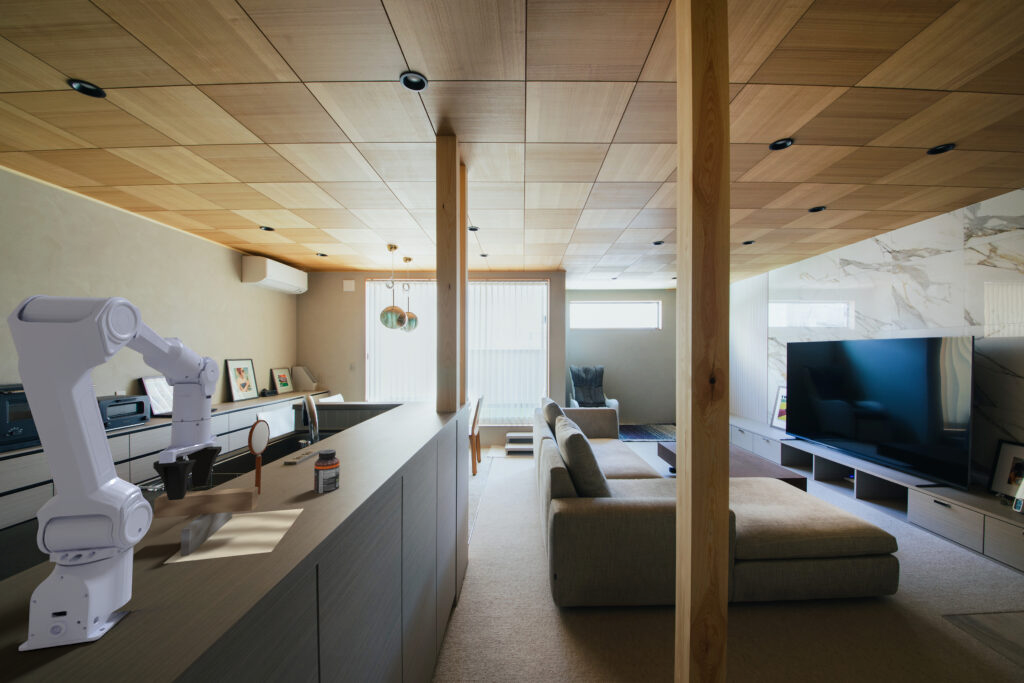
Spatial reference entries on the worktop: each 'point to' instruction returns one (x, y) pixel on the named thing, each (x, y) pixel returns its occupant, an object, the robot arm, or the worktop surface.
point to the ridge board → (233, 534)
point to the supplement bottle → (326, 472)
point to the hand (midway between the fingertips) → (188, 492)
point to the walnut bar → (207, 502)
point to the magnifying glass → (258, 446)
